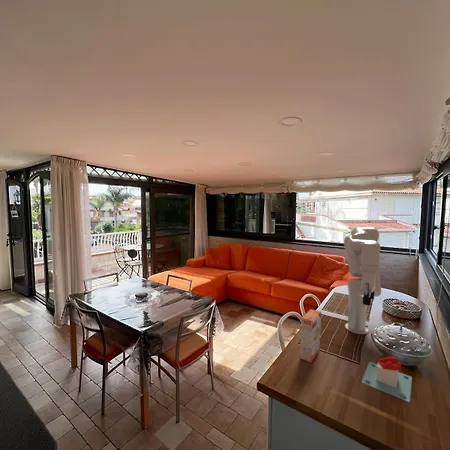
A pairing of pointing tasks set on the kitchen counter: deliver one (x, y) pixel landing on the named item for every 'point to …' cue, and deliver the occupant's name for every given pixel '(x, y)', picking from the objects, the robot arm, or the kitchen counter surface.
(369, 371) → the baseplate
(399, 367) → the bracket
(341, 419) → the kitchen counter surface
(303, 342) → the cracker box
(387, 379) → the base block
